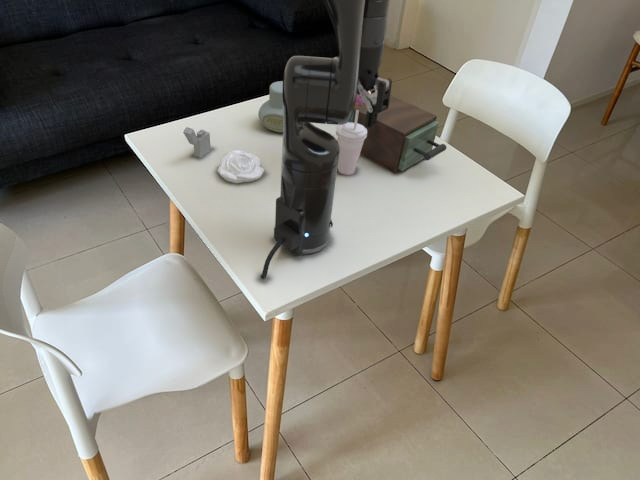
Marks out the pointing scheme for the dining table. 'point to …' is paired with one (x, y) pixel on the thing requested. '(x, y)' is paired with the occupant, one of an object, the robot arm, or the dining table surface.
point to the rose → (240, 167)
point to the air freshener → (273, 108)
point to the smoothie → (350, 145)
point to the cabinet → (391, 131)
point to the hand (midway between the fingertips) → (352, 119)
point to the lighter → (198, 141)
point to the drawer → (420, 146)
